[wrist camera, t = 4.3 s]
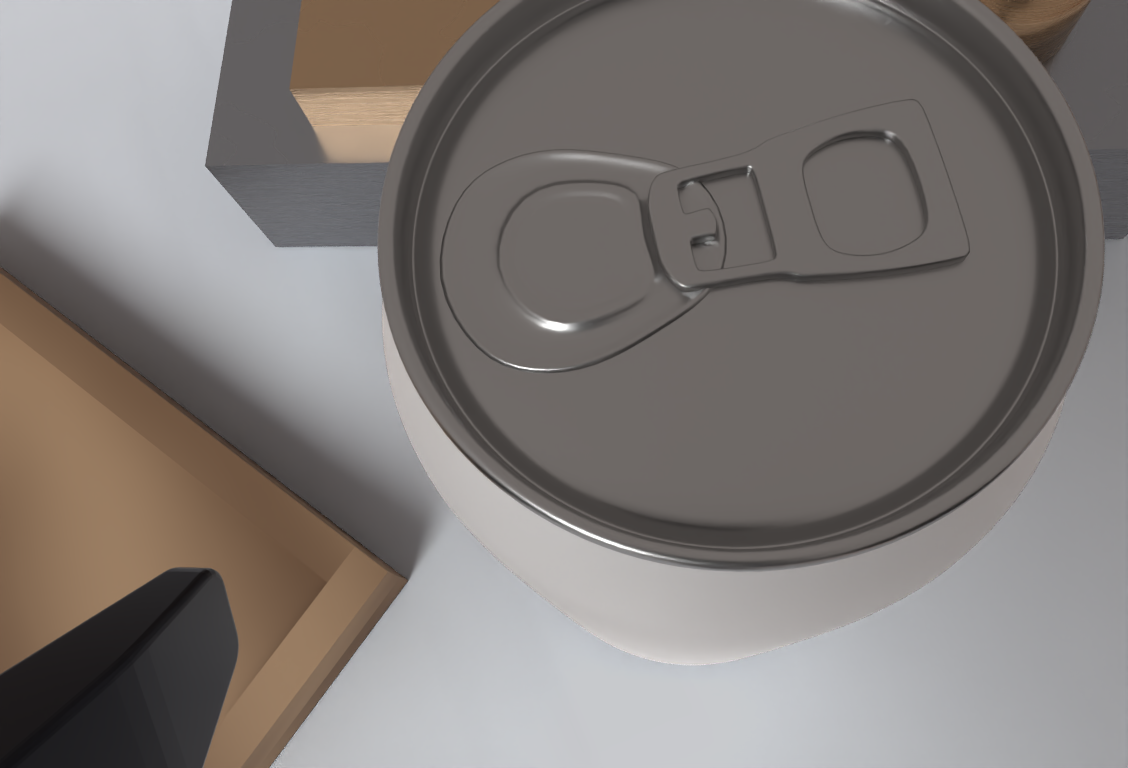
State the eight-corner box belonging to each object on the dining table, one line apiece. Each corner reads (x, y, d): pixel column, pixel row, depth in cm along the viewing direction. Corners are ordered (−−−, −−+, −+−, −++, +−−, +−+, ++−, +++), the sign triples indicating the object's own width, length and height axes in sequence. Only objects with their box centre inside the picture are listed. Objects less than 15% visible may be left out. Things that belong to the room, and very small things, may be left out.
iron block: (1085, -6, 21) (1223, -229, 16) (1122, 238, 20) (1292, 75, 14) (306, 21, 23) (203, -173, 18) (275, 246, 21) (151, 104, 16)
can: (499, 374, 20) (290, -38, 9) (805, 314, 20) (1009, -192, 8) (551, 695, 18) (368, 715, 7) (893, 632, 18) (1319, 536, 6)
